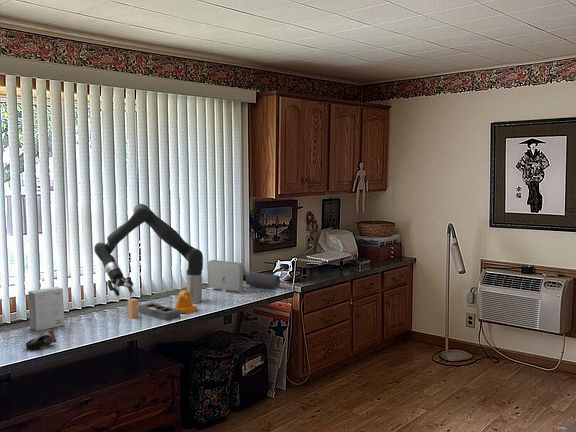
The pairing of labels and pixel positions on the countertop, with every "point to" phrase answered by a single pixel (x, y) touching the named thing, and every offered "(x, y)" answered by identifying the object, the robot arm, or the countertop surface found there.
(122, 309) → the countertop surface
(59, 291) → the hard drive box
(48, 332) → the caster wheel
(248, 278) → the bluetooth speaker
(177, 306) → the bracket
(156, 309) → the rail
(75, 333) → the countertop surface
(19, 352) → the countertop surface
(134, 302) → the peg
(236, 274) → the network device
